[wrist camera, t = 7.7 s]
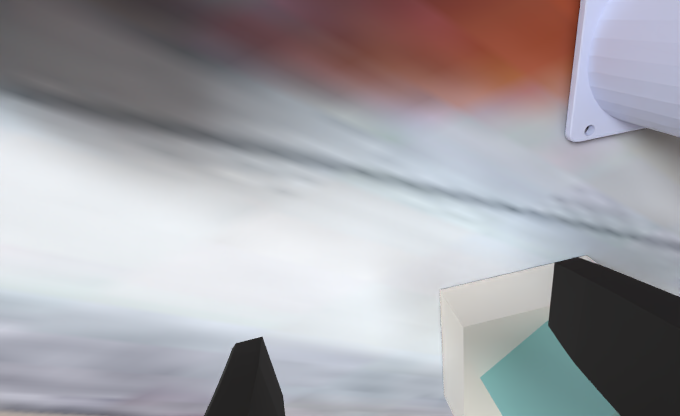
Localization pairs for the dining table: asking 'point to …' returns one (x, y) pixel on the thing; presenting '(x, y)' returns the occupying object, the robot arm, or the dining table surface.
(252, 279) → the dining table surface
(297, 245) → the dining table surface
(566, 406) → the teal block
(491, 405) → the stone plinth
